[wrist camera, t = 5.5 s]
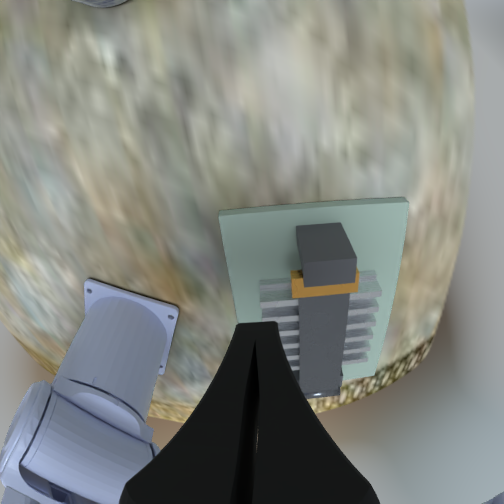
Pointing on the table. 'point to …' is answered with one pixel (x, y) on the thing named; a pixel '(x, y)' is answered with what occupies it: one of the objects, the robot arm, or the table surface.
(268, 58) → the table surface
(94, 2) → the energy drink
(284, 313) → the heat sink
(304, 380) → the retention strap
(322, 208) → the socket board
